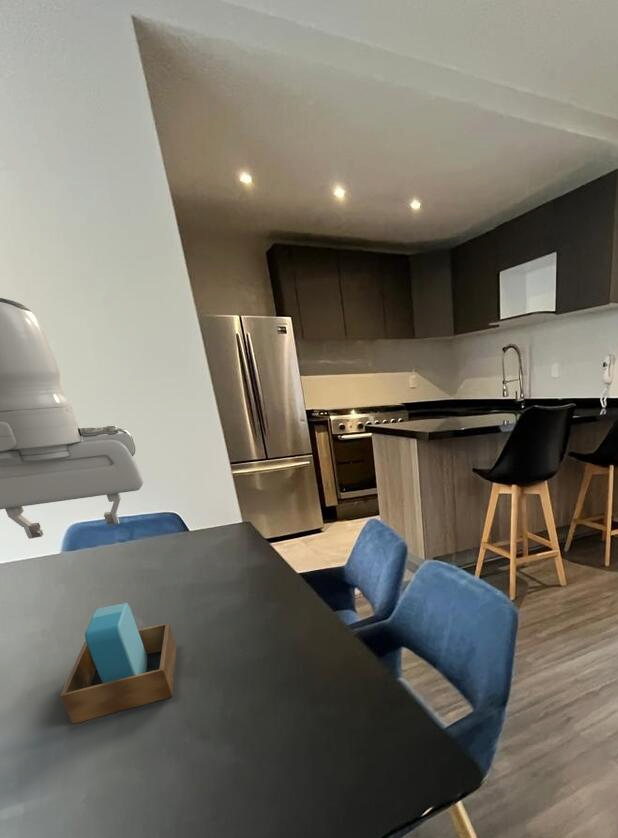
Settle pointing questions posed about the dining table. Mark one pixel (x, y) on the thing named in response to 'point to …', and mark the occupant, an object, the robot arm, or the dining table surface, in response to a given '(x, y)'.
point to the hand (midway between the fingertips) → (76, 530)
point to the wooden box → (121, 680)
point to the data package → (116, 643)
